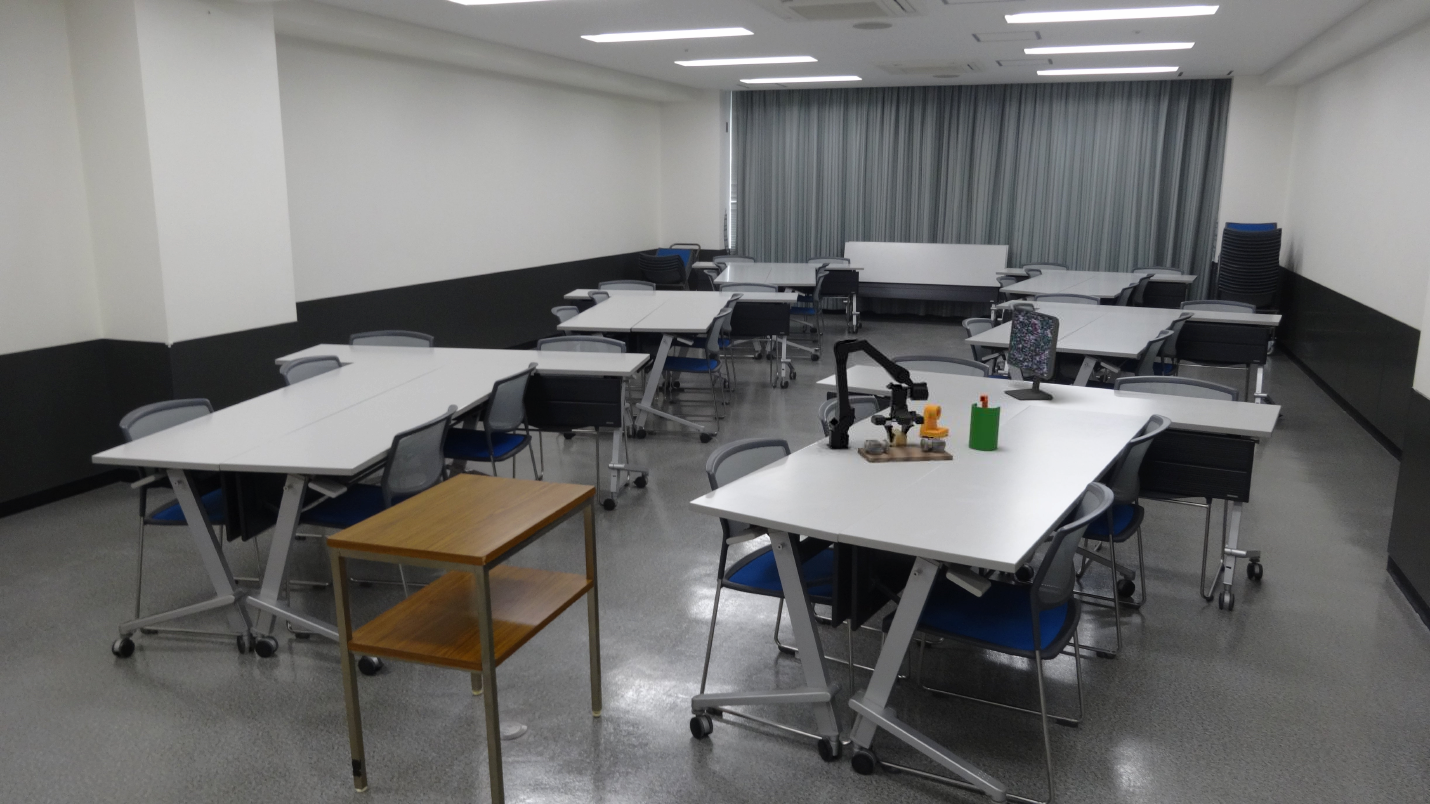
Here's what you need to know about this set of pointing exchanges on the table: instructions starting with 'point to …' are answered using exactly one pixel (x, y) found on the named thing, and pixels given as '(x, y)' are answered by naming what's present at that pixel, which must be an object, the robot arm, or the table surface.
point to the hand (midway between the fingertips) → (896, 442)
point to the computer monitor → (1033, 349)
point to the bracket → (932, 423)
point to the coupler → (898, 438)
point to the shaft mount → (905, 451)
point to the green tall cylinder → (984, 426)
